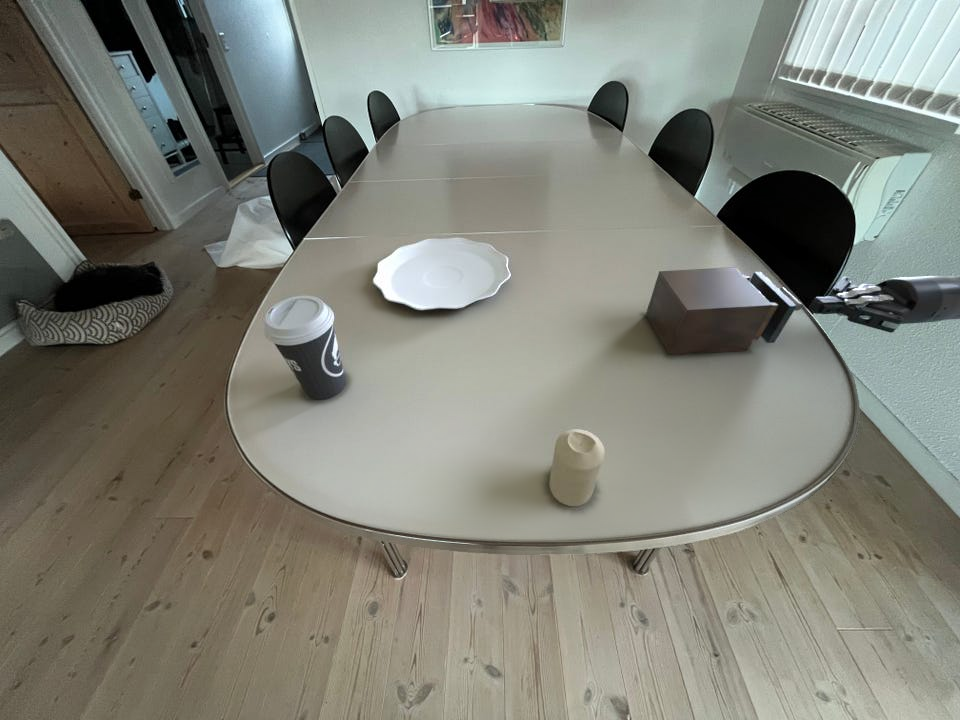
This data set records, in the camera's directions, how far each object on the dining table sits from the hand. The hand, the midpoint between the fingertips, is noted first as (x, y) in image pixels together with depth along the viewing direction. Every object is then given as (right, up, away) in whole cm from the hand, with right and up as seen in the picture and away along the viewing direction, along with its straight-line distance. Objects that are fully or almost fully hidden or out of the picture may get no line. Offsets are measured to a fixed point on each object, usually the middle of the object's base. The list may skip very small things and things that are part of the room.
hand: (814, 306), depth 66 cm
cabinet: (-16, -4, +8) cm, 18 cm away
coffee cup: (-80, -13, +1) cm, 81 cm away
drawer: (-8, -3, +8) cm, 12 cm away
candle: (-43, -25, -14) cm, 52 cm away
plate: (-63, +9, +24) cm, 68 cm away
